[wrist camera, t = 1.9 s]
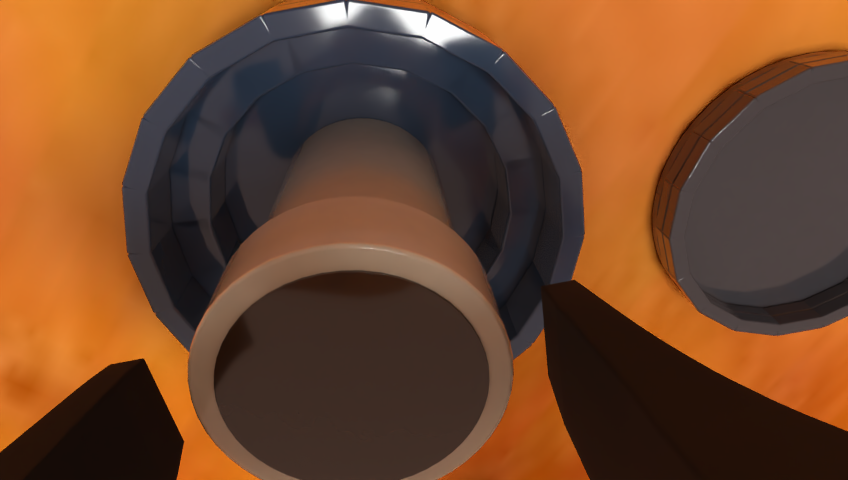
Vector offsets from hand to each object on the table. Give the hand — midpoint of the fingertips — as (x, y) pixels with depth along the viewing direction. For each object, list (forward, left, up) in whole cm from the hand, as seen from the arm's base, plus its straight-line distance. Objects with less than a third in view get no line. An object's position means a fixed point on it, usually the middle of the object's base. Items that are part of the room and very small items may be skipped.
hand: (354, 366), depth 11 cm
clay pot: (0, 0, -8) cm, 8 cm away
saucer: (-3, -14, -9) cm, 17 cm away
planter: (0, 0, -9) cm, 9 cm away
